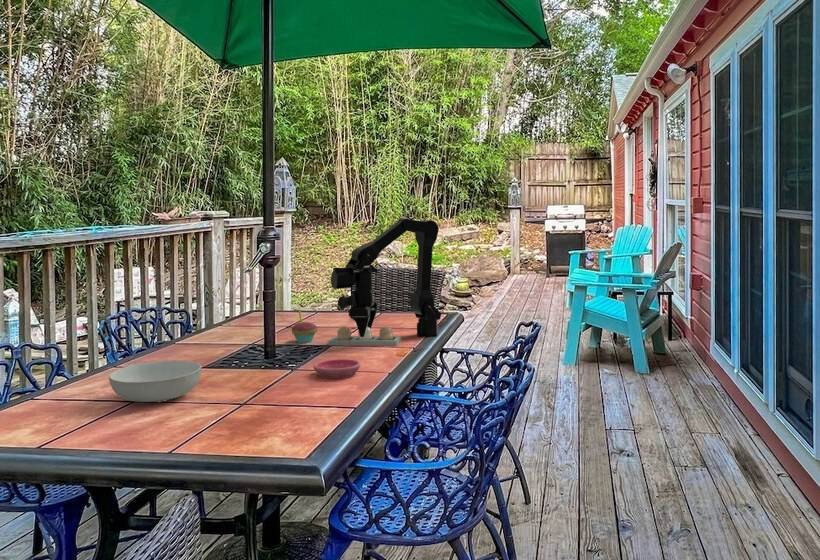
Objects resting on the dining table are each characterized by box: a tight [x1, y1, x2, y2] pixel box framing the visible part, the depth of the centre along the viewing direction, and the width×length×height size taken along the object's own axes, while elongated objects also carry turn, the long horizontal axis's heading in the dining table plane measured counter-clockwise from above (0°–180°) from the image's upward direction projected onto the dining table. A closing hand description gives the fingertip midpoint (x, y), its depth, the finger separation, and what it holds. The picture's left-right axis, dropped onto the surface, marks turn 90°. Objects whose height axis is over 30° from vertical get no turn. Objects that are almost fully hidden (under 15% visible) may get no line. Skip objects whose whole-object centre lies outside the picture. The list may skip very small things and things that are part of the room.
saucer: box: [313, 358, 361, 380], centre depth 183 cm, size 12×12×3 cm
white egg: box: [357, 327, 373, 340], centre depth 222 cm, size 4×4×5 cm
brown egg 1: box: [336, 326, 352, 340], centre depth 223 cm, size 4×4×5 cm
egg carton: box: [327, 335, 402, 347], centre depth 222 cm, size 22×8×2 cm, turn 81°
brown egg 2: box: [378, 325, 394, 340], centre depth 221 cm, size 4×4×5 cm
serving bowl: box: [108, 360, 202, 403], centre depth 164 cm, size 21×21×7 cm
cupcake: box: [290, 307, 318, 344], centre depth 227 cm, size 9×8×12 cm
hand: (365, 334), depth 222 cm, fingers open, 9 cm apart
